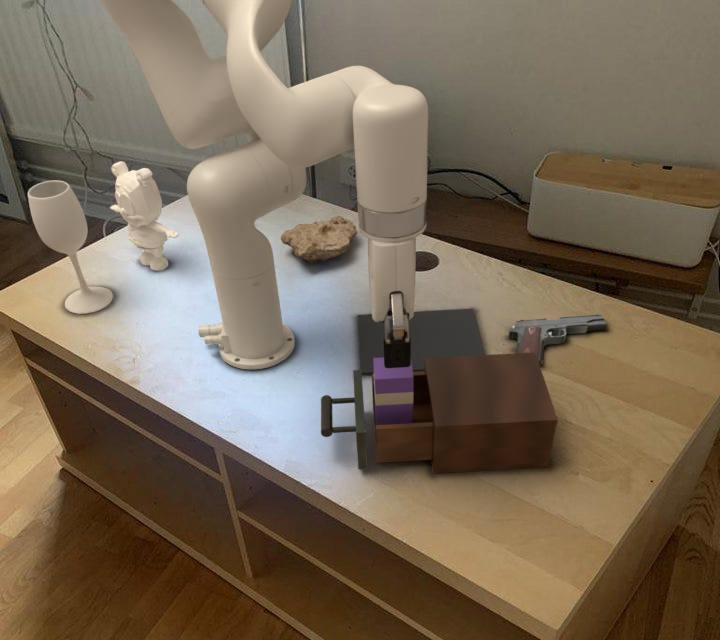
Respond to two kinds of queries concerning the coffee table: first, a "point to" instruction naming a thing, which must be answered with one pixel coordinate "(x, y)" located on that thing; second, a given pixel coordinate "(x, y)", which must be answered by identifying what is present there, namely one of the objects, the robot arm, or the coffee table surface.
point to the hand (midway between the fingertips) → (394, 342)
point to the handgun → (551, 332)
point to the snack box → (393, 394)
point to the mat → (423, 337)
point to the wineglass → (65, 237)
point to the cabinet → (489, 413)
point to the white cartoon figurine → (142, 213)
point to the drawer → (392, 438)
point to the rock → (320, 239)
